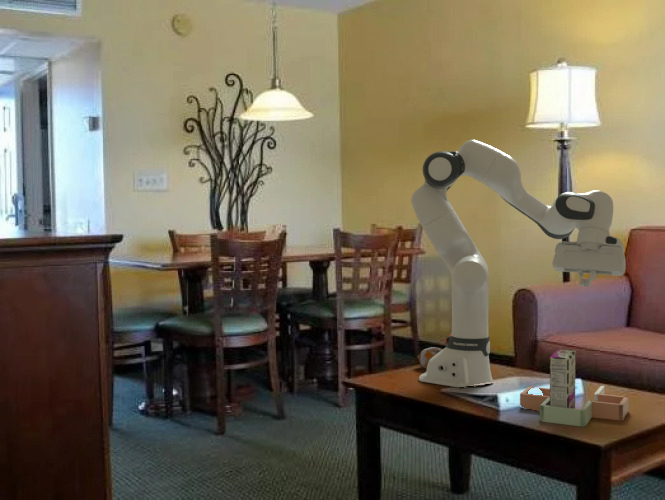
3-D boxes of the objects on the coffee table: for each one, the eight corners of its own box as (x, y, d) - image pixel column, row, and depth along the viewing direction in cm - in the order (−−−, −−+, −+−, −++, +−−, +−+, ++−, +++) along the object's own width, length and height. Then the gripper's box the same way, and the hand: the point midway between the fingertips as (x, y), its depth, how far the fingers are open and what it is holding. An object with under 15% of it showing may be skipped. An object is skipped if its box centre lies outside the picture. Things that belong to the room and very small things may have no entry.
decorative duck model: (417, 345, 273) (461, 344, 270) (418, 367, 272) (462, 367, 269) (413, 348, 258) (460, 348, 255) (414, 372, 258) (460, 372, 255)
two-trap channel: (509, 417, 203) (510, 402, 202) (537, 393, 229) (537, 379, 229) (616, 430, 191) (617, 414, 190) (633, 403, 217) (633, 389, 217)
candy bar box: (556, 410, 210) (556, 349, 209) (575, 412, 208) (576, 350, 207) (548, 420, 200) (549, 356, 199) (568, 423, 198) (569, 357, 197)
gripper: (554, 236, 235) (546, 278, 230) (626, 240, 225) (619, 284, 220) (558, 245, 240) (550, 287, 235) (629, 250, 230) (622, 293, 225)
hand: (584, 285), depth 228 cm, fingers closed
